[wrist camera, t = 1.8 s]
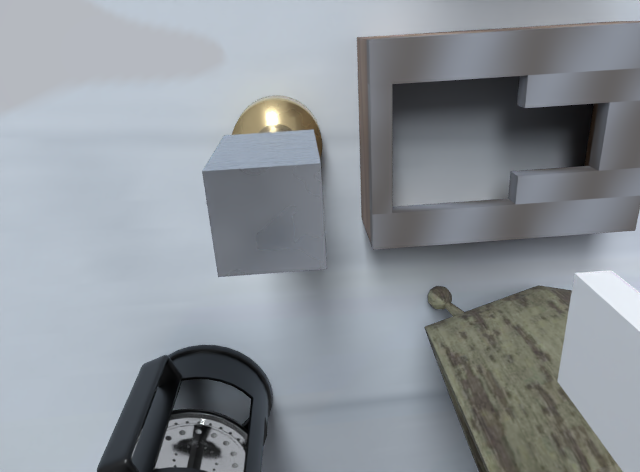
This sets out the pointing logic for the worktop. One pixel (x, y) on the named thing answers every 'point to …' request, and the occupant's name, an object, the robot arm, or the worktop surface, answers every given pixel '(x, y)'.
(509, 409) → the tabletop clock
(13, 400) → the worktop surface
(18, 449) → the worktop surface
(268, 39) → the worktop surface
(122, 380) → the worktop surface
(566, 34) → the keyhole block
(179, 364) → the french press
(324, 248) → the headed peg
